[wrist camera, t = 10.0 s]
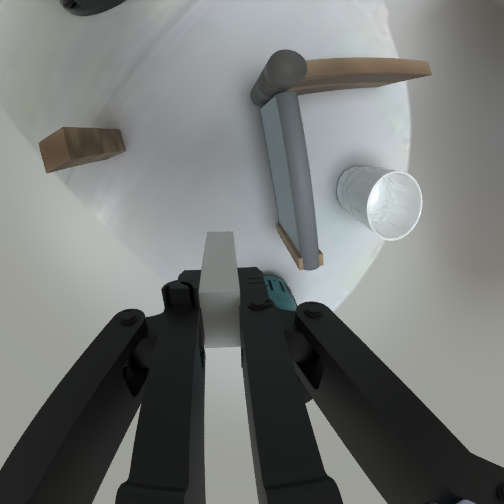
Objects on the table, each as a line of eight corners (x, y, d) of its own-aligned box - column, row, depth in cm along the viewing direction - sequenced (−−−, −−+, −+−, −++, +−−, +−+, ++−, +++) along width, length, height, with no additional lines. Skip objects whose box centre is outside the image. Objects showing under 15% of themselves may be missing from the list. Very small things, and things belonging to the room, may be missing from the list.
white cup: (344, 225, 37) (379, 252, 28) (322, 176, 34) (356, 190, 25) (386, 201, 36) (428, 220, 27) (368, 152, 33) (411, 159, 24)
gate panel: (256, 110, 29) (273, 93, 19) (276, 107, 29) (302, 90, 19) (278, 232, 36) (300, 272, 25) (295, 229, 36) (325, 267, 25)
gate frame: (100, 138, 29) (38, 143, 16) (373, 72, 29) (437, 52, 16) (106, 159, 30) (46, 173, 17) (378, 91, 30) (445, 79, 17)
